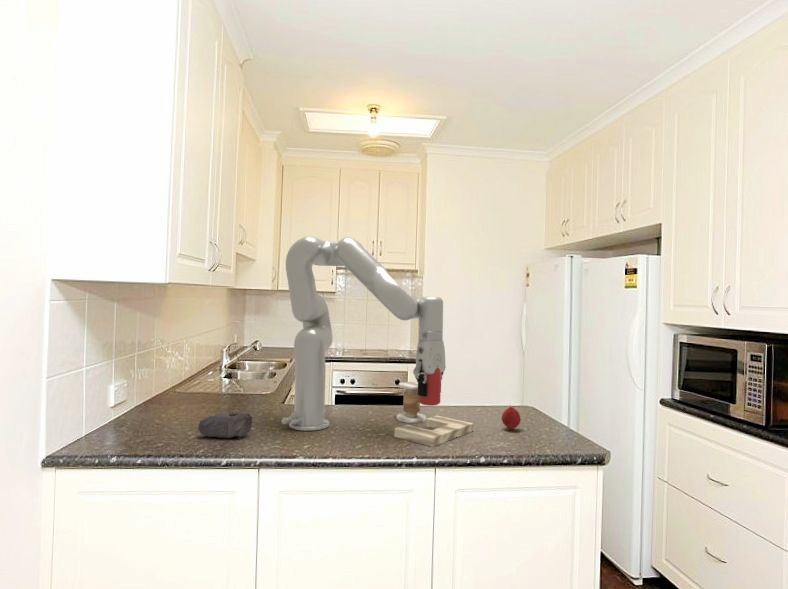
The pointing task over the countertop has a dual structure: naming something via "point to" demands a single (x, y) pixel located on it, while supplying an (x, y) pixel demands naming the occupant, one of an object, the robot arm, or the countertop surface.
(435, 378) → the beer can
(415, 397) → the bobbin
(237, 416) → the perforated stone tool
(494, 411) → the countertop surface
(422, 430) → the notched board
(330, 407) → the countertop surface
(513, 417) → the onion
